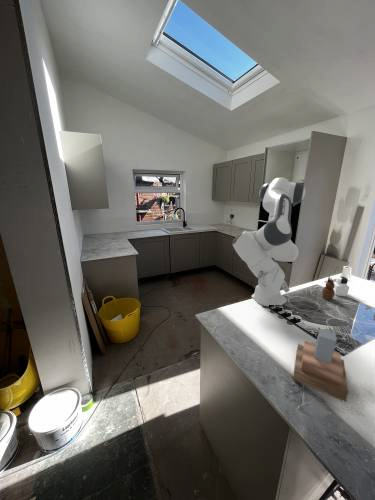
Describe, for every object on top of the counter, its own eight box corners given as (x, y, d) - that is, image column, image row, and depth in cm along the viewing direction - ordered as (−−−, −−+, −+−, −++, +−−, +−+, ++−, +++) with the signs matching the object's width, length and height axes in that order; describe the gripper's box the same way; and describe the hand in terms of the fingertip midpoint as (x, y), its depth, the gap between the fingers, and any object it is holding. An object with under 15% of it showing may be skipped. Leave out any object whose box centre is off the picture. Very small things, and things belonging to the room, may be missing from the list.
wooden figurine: (319, 295, 137) (324, 274, 133) (328, 295, 137) (333, 275, 132) (325, 300, 131) (330, 279, 126) (334, 301, 130) (340, 279, 126)
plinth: (296, 351, 90) (299, 336, 87) (341, 367, 82) (346, 351, 79) (292, 379, 77) (296, 362, 74) (345, 401, 69) (351, 383, 66)
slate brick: (314, 349, 80) (319, 328, 77) (329, 355, 78) (335, 332, 75) (314, 358, 76) (319, 335, 73) (330, 364, 74) (336, 341, 71)
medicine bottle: (341, 291, 143) (345, 276, 139) (346, 296, 136) (351, 280, 132) (330, 290, 144) (334, 274, 141) (334, 295, 138) (338, 279, 134)
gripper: (264, 272, 70) (290, 305, 68) (274, 256, 87) (296, 282, 85) (249, 281, 73) (274, 313, 72) (262, 263, 90) (283, 289, 88)
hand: (286, 296), depth 78 cm, fingers open, 8 cm apart
